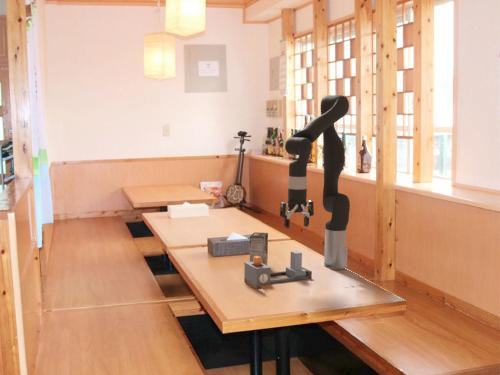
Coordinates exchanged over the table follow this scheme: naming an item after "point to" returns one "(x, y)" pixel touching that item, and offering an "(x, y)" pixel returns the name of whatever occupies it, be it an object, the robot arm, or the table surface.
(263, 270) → the cabinet
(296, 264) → the carriage
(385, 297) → the table surface
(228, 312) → the table surface
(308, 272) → the rail bed
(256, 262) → the button
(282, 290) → the table surface
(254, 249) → the coffee box
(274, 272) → the guide rails
